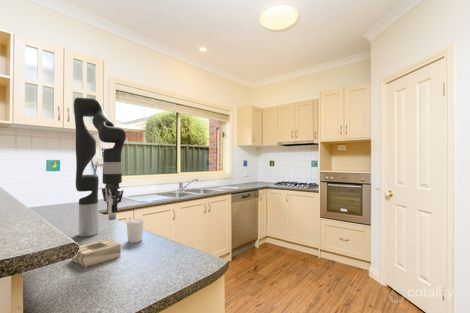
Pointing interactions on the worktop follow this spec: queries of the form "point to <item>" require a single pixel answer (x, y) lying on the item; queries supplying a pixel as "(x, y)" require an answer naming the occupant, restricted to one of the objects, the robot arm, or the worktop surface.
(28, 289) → the worktop surface
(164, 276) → the worktop surface
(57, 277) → the worktop surface
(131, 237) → the white cup
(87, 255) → the wooden peg hole block
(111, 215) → the steel pin
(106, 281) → the worktop surface
